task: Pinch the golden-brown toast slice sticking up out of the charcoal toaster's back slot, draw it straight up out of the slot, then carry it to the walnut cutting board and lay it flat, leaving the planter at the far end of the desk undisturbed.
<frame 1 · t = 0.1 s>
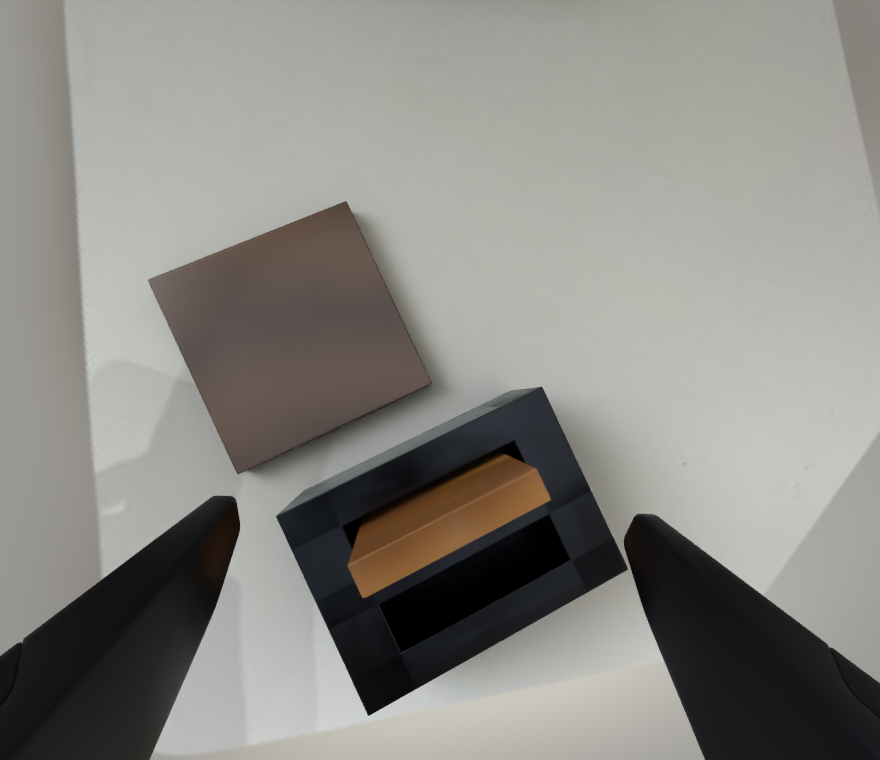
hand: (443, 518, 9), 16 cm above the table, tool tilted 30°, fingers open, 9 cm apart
board: (298, 336, 24), on the table
toast: (433, 486, 24), point 1 cm above the table, touching toaster
toaster: (445, 513, 25), on the table
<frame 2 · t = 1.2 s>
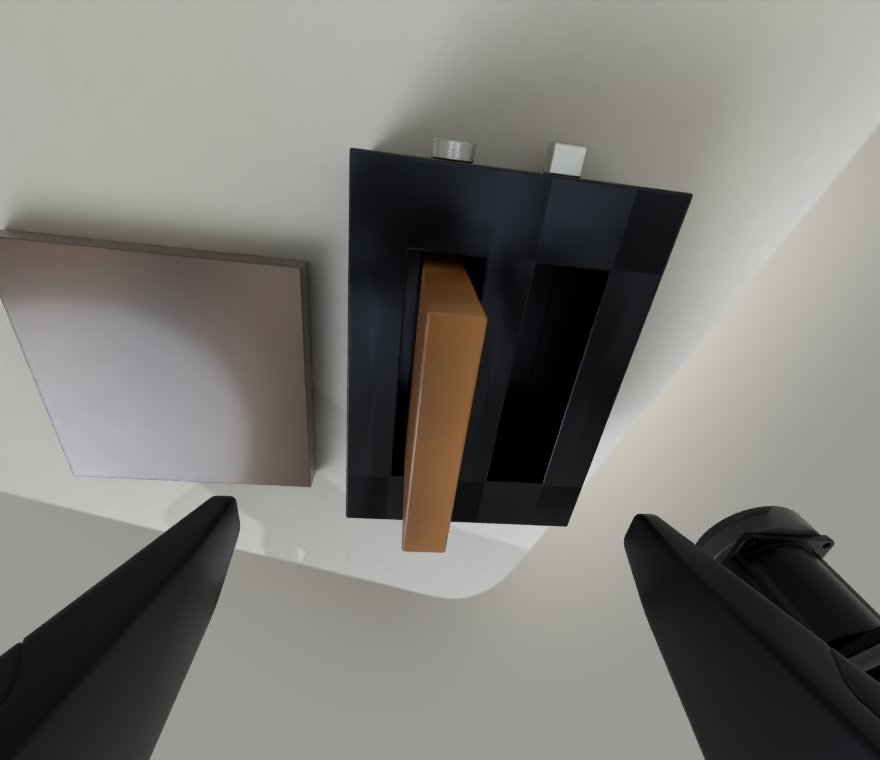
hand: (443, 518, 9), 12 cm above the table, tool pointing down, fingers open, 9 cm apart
board: (186, 372, 20), on the table
toast: (428, 334, 18), point 1 cm above the table, touching toaster
toaster: (469, 330, 19), on the table
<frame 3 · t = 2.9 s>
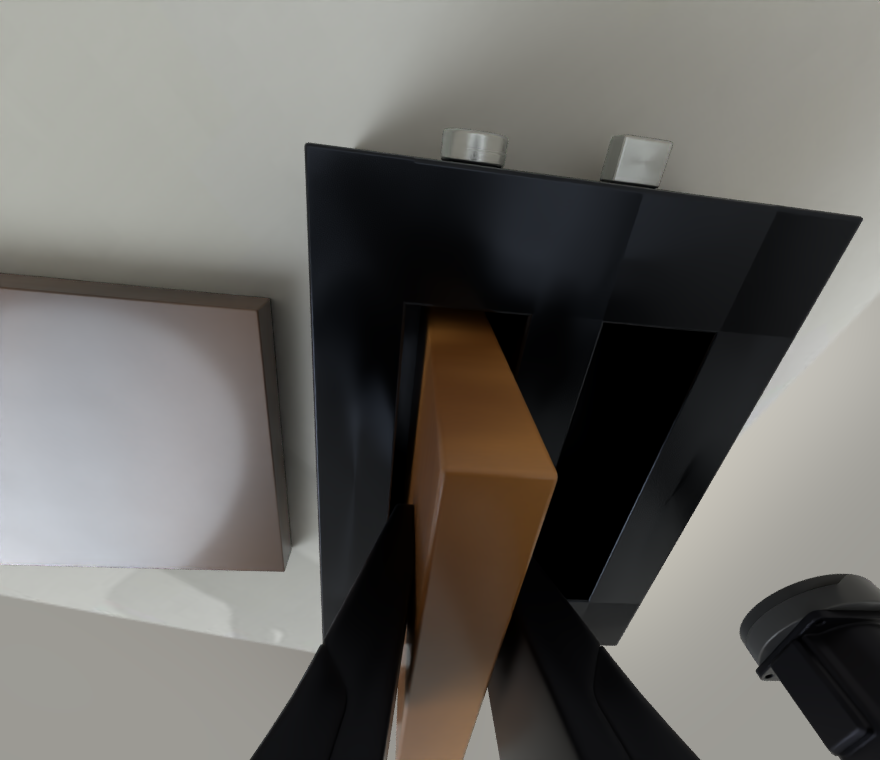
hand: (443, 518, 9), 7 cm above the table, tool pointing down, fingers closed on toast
board: (118, 436, 15), on the table
toast: (433, 392, 14), point 1 cm above the table, touching gripper, toaster
toaster: (485, 382, 15), on the table
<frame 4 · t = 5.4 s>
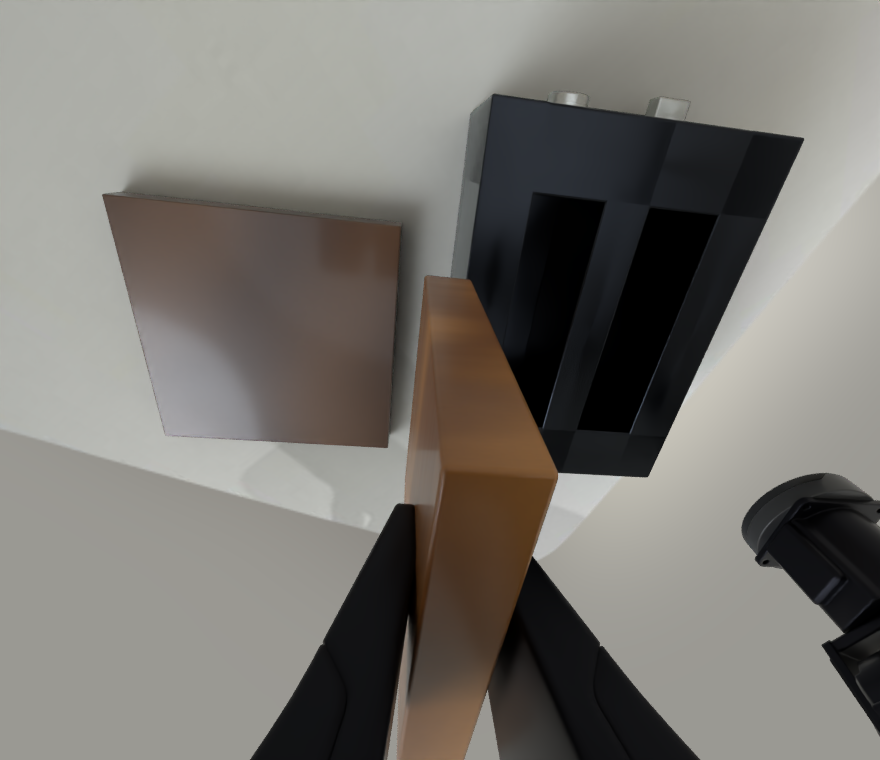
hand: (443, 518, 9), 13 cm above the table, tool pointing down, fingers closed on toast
board: (276, 333, 21), on the table
toast: (433, 392, 14), point 8 cm above the table, touching gripper
toaster: (548, 291, 20), on the table
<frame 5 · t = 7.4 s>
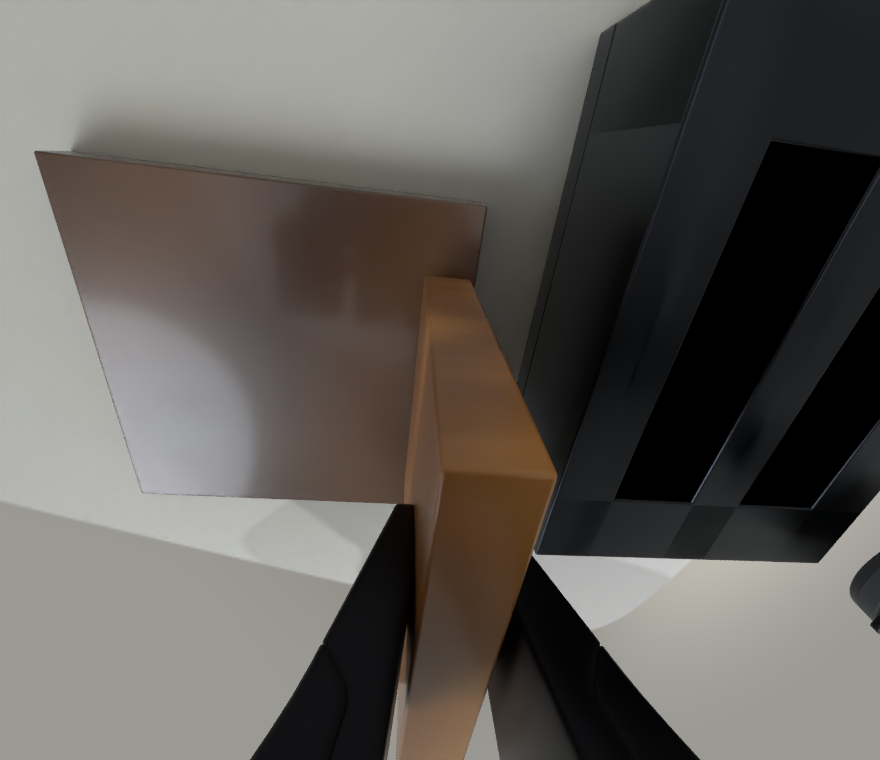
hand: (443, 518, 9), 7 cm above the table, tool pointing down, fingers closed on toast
board: (295, 357, 15), on the table
toast: (433, 392, 14), point 2 cm above the table, touching gripper
toaster: (671, 301, 15), on the table
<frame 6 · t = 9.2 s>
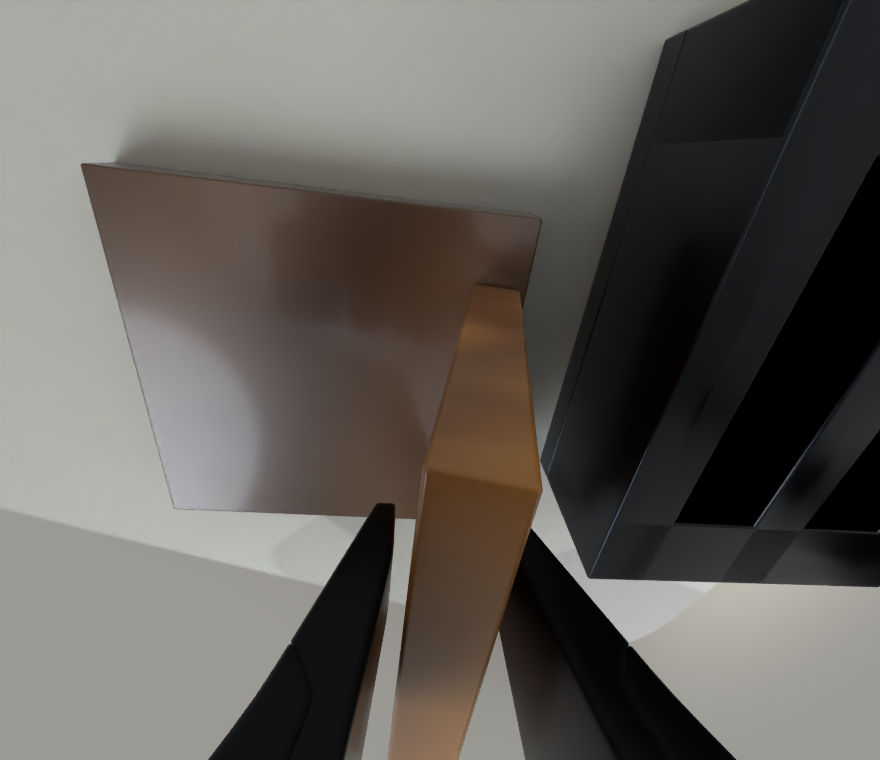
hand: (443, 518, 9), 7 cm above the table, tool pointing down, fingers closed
board: (334, 371, 15), on the table
toast: (476, 400, 14), point 1 cm above the table, tilted 11°, touching board
toaster: (722, 314, 14), on the table
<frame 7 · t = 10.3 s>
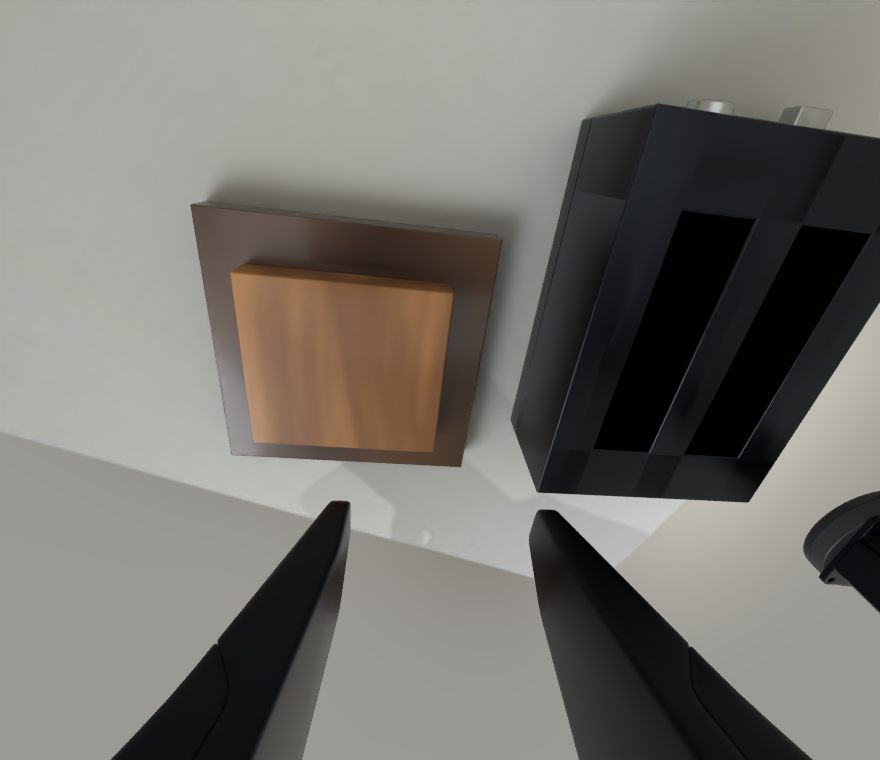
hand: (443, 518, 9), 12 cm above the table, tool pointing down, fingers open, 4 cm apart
board: (354, 349, 20), on the table
toast: (442, 374, 18), point 2 cm above the table, tilted 90°, touching board
toaster: (640, 306, 19), on the table
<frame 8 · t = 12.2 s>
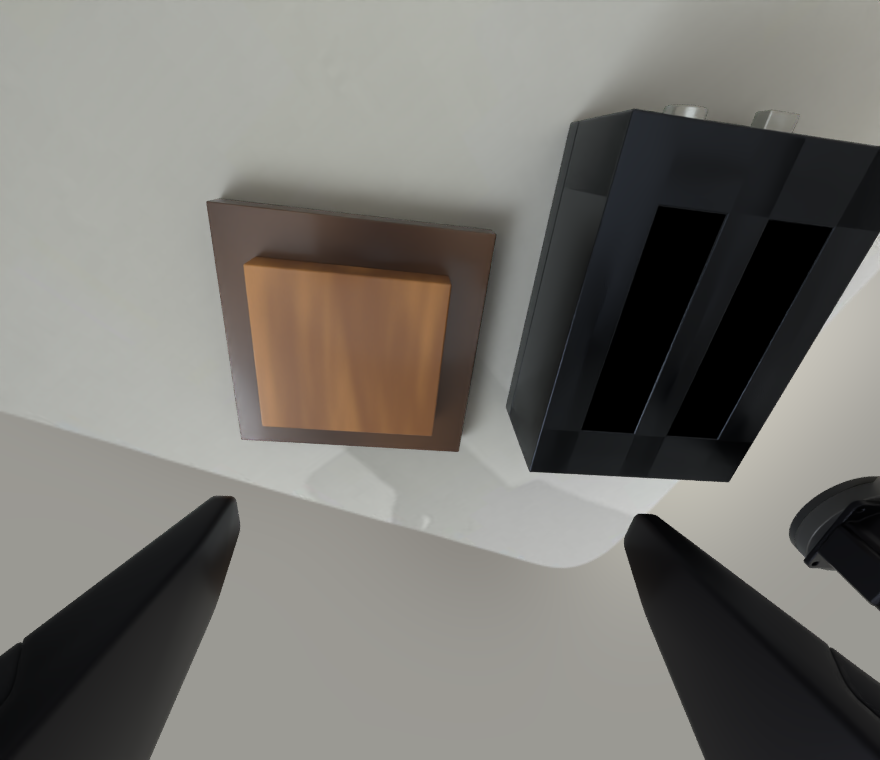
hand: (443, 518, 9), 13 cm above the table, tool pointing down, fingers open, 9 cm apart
board: (357, 338, 21), on the table
toast: (440, 361, 20), point 2 cm above the table, tilted 90°, touching board
toaster: (627, 298, 21), on the table
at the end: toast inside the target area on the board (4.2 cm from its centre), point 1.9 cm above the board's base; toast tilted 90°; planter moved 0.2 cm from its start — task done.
